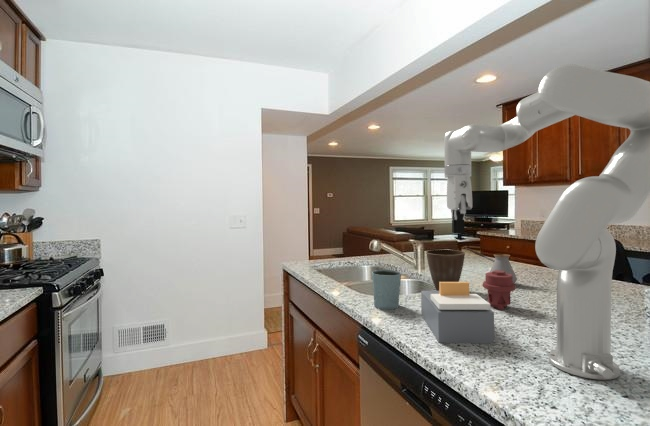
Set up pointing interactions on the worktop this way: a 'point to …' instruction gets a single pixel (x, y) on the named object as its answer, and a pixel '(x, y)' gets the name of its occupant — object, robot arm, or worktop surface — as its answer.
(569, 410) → the worktop surface
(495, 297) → the mechanical component
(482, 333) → the housing
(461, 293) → the lid
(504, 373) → the worktop surface
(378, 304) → the blue-grey cup
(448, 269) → the plant pot
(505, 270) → the coffee pot
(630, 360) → the worktop surface
